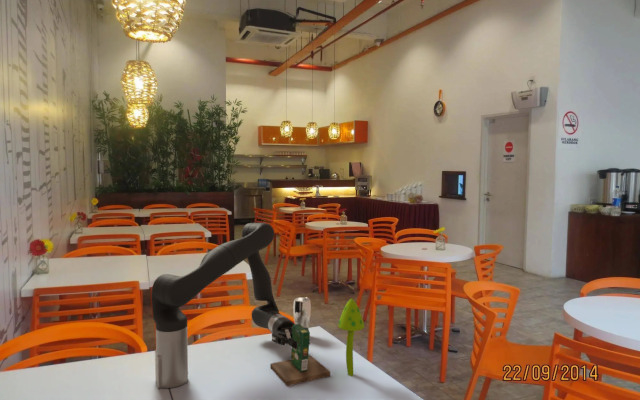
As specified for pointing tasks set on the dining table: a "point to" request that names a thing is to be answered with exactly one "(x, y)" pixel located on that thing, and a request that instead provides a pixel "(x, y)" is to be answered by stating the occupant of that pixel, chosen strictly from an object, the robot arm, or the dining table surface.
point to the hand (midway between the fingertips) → (302, 344)
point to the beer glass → (302, 311)
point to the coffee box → (300, 348)
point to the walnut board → (294, 376)
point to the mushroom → (350, 329)
